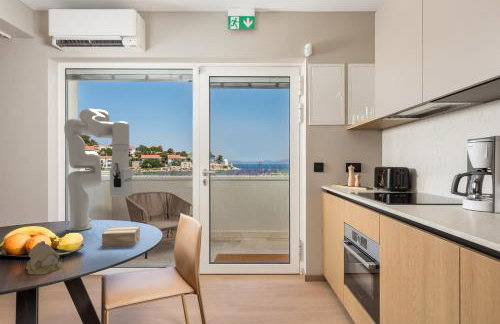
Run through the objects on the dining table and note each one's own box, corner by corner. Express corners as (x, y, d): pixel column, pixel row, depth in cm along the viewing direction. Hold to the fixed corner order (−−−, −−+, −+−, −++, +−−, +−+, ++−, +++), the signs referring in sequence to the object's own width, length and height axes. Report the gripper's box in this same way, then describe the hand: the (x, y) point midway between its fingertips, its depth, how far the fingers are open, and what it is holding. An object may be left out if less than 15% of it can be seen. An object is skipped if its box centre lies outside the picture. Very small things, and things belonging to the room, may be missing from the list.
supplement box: (124, 196, 160) (123, 169, 160) (109, 196, 161) (109, 168, 161) (132, 194, 167) (132, 168, 167) (118, 194, 169) (118, 168, 168)
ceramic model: (68, 268, 127) (68, 241, 127) (34, 277, 118) (34, 247, 118) (49, 261, 136) (49, 235, 135) (17, 269, 127) (16, 241, 126)
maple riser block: (109, 239, 171) (109, 227, 171) (139, 238, 173) (139, 226, 173) (102, 247, 157) (101, 233, 157) (134, 245, 159) (134, 232, 159)
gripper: (120, 148, 173) (120, 184, 173) (104, 148, 155) (104, 188, 156) (135, 148, 172) (135, 184, 173) (121, 148, 155) (121, 188, 155)
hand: (121, 186), depth 164 cm, fingers closed on supplement box, 8 cm apart
